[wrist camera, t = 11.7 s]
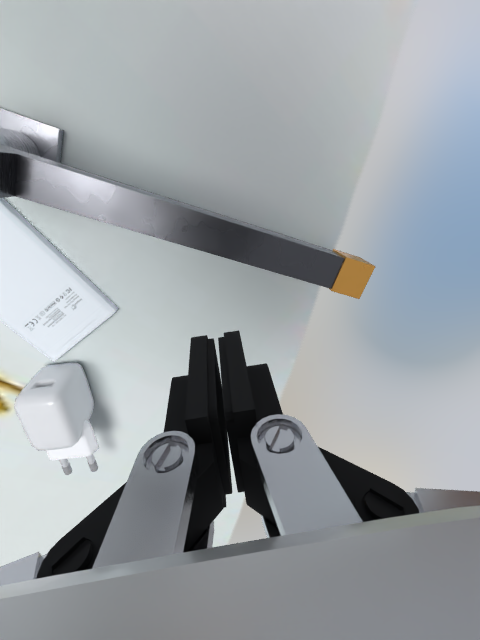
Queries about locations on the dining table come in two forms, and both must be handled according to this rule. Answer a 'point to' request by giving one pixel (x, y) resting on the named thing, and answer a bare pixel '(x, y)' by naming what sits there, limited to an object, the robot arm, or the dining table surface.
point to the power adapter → (59, 414)
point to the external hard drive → (44, 289)
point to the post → (30, 135)
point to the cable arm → (177, 222)
